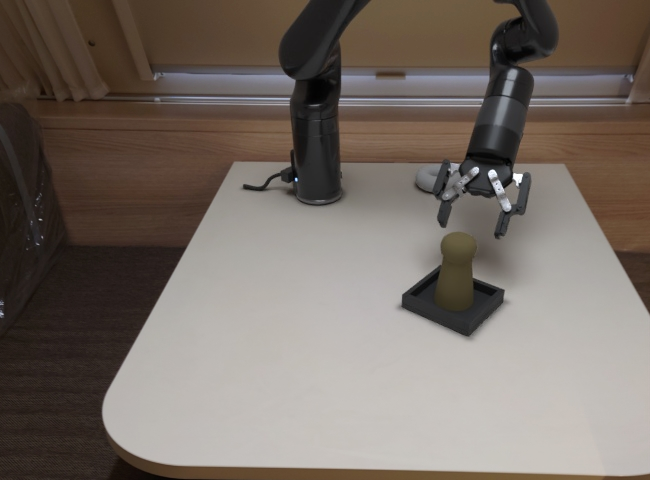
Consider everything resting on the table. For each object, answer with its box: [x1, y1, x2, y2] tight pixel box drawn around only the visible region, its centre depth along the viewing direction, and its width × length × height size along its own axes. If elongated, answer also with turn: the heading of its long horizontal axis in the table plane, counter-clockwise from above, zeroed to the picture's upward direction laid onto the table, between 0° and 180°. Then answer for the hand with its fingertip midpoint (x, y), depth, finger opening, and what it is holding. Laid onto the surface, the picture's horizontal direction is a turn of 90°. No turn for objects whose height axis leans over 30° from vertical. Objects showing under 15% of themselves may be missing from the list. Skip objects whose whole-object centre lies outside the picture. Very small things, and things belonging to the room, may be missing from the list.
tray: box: [401, 264, 506, 337], centre depth 87 cm, size 12×11×2 cm
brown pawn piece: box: [434, 231, 478, 311], centre depth 84 cm, size 6×6×11 cm
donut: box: [414, 163, 461, 193], centre depth 122 cm, size 10×4×10 cm
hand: (469, 231), depth 87 cm, fingers open, 8 cm apart
